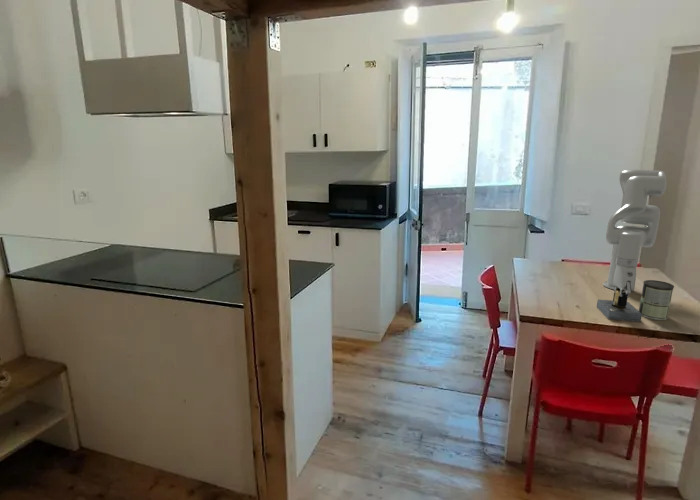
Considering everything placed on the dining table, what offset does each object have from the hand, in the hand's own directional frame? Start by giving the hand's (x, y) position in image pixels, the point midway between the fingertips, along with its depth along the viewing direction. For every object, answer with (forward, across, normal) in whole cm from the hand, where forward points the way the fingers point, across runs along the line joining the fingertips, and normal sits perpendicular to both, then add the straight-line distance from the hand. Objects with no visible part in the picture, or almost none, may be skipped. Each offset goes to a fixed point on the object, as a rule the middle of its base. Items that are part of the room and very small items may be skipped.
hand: (619, 303), depth 179 cm
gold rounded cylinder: (+3, 0, 0) cm, 3 cm away
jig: (+5, 0, 0) cm, 5 cm away
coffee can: (+5, +2, -14) cm, 15 cm away
